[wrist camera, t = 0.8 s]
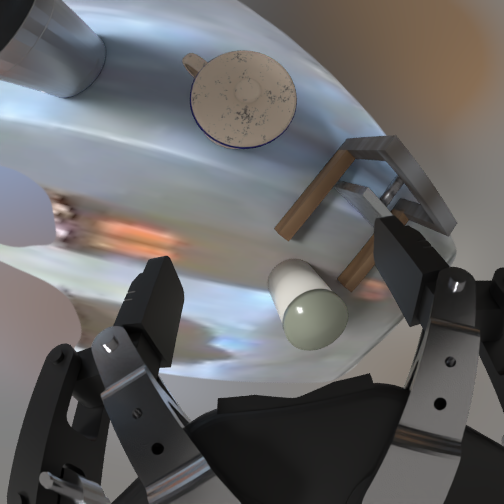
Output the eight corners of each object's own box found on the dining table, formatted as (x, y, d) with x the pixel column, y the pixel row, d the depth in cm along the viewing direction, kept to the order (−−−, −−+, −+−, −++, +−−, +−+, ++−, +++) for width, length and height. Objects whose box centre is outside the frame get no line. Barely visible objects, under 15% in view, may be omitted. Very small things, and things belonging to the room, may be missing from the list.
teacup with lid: (291, 113, 30) (330, 94, 19) (237, 167, 32) (250, 172, 21) (217, 47, 26) (221, -1, 16) (160, 100, 28) (135, 72, 17)
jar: (255, 288, 37) (271, 333, 27) (289, 247, 35) (317, 281, 26) (293, 313, 39) (317, 359, 29) (325, 276, 37) (359, 314, 28)
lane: (274, 228, 34) (299, 258, 24) (347, 138, 32) (395, 135, 22) (343, 284, 38) (381, 323, 28) (406, 205, 36) (457, 223, 26)
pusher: (332, 186, 33) (362, 194, 26) (359, 152, 32) (393, 153, 25) (374, 228, 36) (407, 245, 29) (398, 196, 35) (434, 207, 28)
